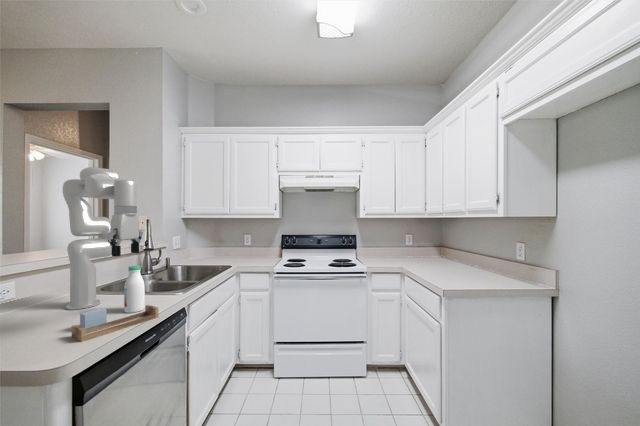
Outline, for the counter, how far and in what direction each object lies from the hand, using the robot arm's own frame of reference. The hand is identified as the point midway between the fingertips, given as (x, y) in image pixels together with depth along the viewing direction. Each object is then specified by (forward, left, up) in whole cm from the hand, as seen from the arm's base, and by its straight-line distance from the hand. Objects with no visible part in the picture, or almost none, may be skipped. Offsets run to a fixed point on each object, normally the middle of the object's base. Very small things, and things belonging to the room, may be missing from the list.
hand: (126, 254), depth 112 cm
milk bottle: (-14, +10, -28) cm, 33 cm away
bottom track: (0, -3, -27) cm, 28 cm away
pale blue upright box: (-8, -8, -28) cm, 30 cm away
